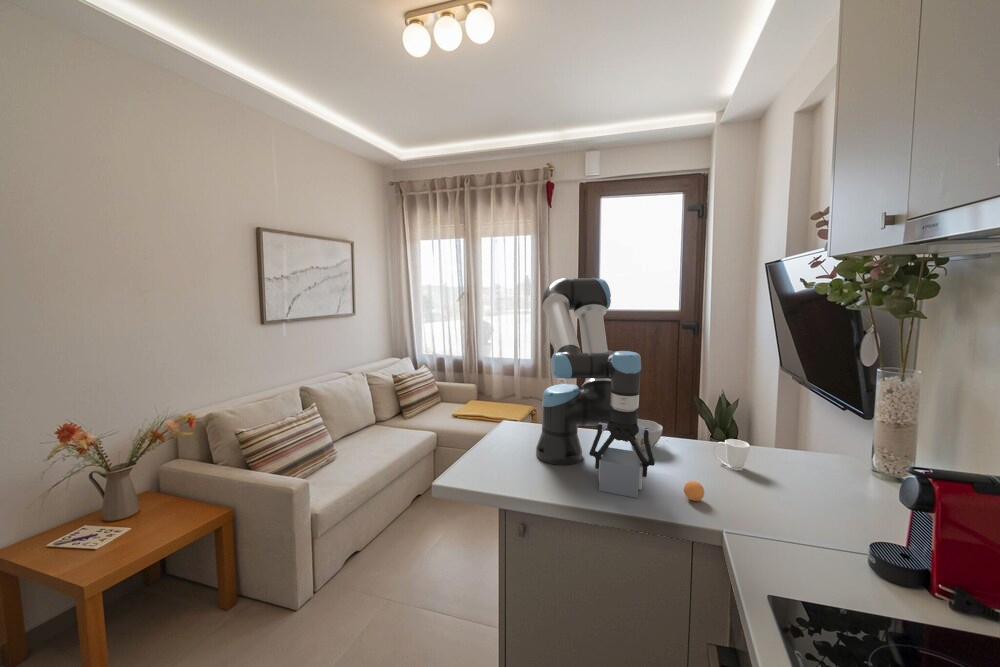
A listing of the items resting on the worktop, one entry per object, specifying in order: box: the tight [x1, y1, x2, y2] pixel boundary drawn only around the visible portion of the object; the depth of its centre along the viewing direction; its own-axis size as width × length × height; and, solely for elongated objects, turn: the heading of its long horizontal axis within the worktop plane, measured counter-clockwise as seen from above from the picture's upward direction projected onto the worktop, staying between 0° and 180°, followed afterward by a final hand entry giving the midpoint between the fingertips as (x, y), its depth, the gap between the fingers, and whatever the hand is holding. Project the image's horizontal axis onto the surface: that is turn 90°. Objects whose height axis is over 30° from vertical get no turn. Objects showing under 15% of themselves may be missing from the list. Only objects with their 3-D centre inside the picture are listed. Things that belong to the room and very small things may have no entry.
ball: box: [683, 480, 705, 502], centre depth 113 cm, size 5×5×5 cm
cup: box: [712, 438, 751, 471], centre depth 133 cm, size 7×10×8 cm
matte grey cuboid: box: [598, 446, 641, 499], centre depth 119 cm, size 10×10×9 cm
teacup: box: [635, 418, 663, 450], centre depth 149 cm, size 15×12×8 cm
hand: (620, 483), depth 120 cm, fingers closed on matte grey cuboid, 10 cm apart
